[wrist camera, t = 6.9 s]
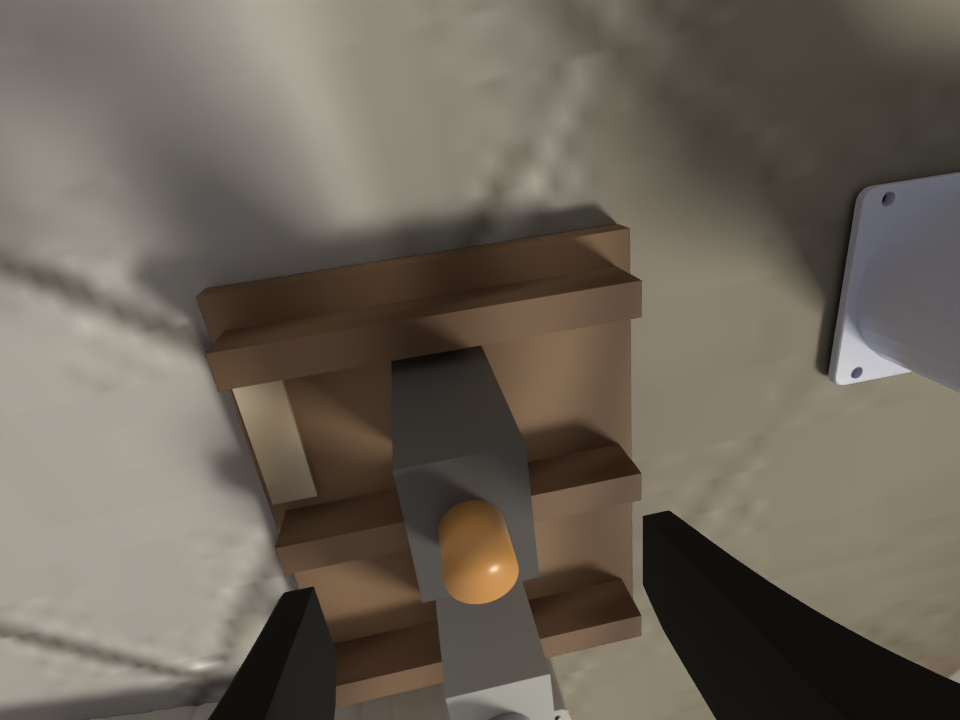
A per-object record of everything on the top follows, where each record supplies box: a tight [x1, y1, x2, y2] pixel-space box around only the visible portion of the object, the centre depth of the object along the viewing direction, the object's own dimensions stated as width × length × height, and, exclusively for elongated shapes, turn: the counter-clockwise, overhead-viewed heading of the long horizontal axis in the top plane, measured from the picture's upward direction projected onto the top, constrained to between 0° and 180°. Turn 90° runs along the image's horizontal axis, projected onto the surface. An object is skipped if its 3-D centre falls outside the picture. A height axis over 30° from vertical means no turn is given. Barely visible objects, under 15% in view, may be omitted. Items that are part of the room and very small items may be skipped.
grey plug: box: [436, 581, 555, 720], centre depth 18 cm, size 3×4×8 cm
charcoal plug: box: [391, 345, 539, 604], centre depth 15 cm, size 3×4×8 cm
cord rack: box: [196, 224, 642, 708], centre depth 20 cm, size 14×18×3 cm
